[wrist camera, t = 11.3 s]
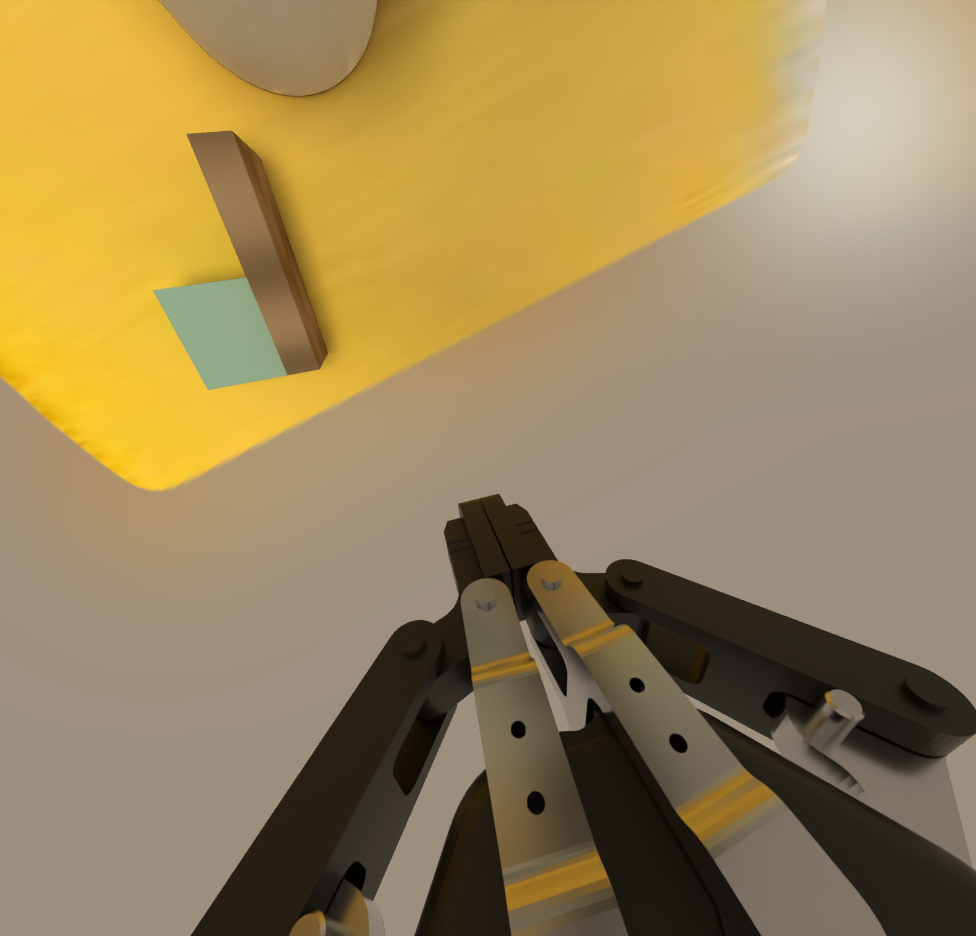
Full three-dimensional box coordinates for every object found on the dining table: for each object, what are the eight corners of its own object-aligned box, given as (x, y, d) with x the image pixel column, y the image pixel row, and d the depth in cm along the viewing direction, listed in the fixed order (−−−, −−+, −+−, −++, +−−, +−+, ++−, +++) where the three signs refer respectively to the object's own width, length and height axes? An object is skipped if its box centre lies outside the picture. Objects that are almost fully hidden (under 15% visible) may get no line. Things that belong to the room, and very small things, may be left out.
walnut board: (223, 159, 25) (186, 133, 20) (259, 156, 26) (232, 130, 21) (300, 358, 33) (287, 375, 28) (327, 353, 33) (319, 369, 28)
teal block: (185, 286, 28) (152, 290, 24) (266, 275, 29) (248, 277, 25) (229, 373, 32) (207, 390, 28) (299, 360, 33) (289, 374, 29)
